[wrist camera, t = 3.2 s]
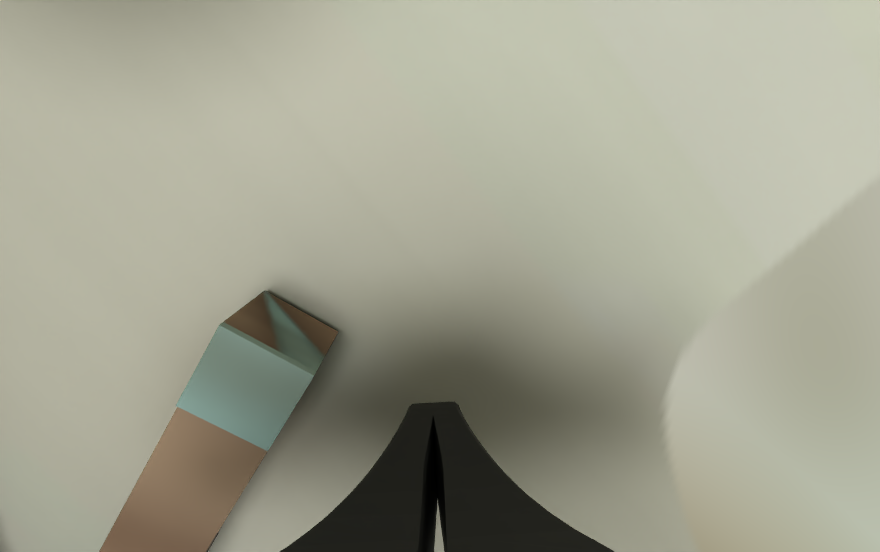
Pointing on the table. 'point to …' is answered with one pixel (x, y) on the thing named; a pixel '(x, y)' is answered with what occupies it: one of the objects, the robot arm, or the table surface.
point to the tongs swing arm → (222, 427)
